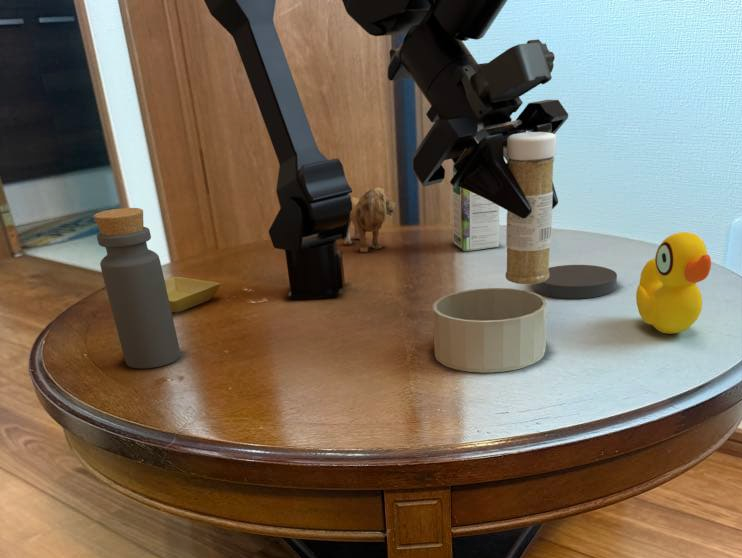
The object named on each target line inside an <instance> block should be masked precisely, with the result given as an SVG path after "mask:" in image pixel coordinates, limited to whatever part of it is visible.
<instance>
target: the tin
mask: <svg viewBox="0 0 742 558" xmlns="http://www.w3.org/2000/svg"><path fill="white" fill-rule="evenodd" d="M432 319H433V321H432V322H433V343H434V344H433V345H434V358H435V360H436V361H437V362H438V363H439V364H441V365H443V366H445V367H447V368H450V369H454V370H456V371H462V372H470V373H482V374H483V373H485V374H486V373H488V374H489V373H501V372H510V371H516V370H519V369H523V368H527V367H530V366H532V365H534V364H536V363H538V362H539V361H541V360H542V359H543V357H544V356H545V353H546V350H547V349H546V348H547V320H548V302H547V300H546V298H545V297H544V296H542V295H541V294H539V293H537V292H536V293H535V292H532V291H529V290H524V289H518V288H517V289H516V288H509V287H508V288H507V287H486V288H473V289H467V290H461V291H457V292H453V293H449V294H446V295H444V296H442V297H440V298H438V299H437V300H436V301H435V302H434V303H432Z"/></svg>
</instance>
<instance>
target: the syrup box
mask: <svg viewBox="0 0 742 558" xmlns="http://www.w3.org/2000/svg"><path fill="white" fill-rule="evenodd" d="M454 164H455V163H454V162H453V161H452V178H453V177H454V175H455V174H456V173H457V170H456V169H455V167H454ZM500 208H501V207H500V206H499V205H497V204H495V203H493V202H491V201H489V200H487V199H485V198H483V197H481V196H479V195H477V194H475V193H472V192H470V191H468V190H466V189H464V188H462V187H460V186H453V185H452V224H453V227H452V229H453V245H455V246H457V247H458V248H460V249H461V250H462V251H463V252H469V251H470V252H471V251H478V250H484V249H485V250H486V249H493V248H498V247H500V214H501V213H500Z"/></svg>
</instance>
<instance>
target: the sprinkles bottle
mask: <svg viewBox="0 0 742 558" xmlns="http://www.w3.org/2000/svg"><path fill="white" fill-rule="evenodd" d="M556 149H557V136H556V133H555V134H553V133H548V132H526V133H518V134H513V135H510V136H509V137H508V138H507V158H509V160H508V163H509V169H510V171H511V172H512V174H513V176H514V178H515V179H516V181H517V183H518V185H519V186H520V188H521V190H522V191H523V193H524V195H525V197H526V199H527V201H528V203H529V205H530V207H531V209H532V212H531V213H530V215H529V216H528V217H527V218H524V219H523V218H521V217H519V216H517V215H515V214H513V213H512V212H510V211H508V210H506V236H505V237H506V238H505V240H506V241H505V243H506V272H505V279H506V280H507V281H508V282H511V283H514V284H516V285H517V284H518V285H534V284H536V283H542V282H544V281H546V280H547V279H548V278H549V270H548V269H549V268H550V267H549V266H550V247H551V243H552V242H551V241H552V222H553V221H552V219H553V209H552V199H553V191H552V182H553V183H554V181H553V180H554V179H553V178H554V162H555V155H556Z"/></svg>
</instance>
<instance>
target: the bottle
mask: <svg viewBox="0 0 742 558" xmlns="http://www.w3.org/2000/svg"><path fill="white" fill-rule="evenodd" d="M93 219H94V221H95V223H96V225H97V228H98V229H99V233H97V234H96V240H97V243H98V245H99V246H100V247H102V248H105V250H106V255H105V256H104V257H102V259H101V260H100V263H99V266H100V270H101V274H102V279H103V282H104V286H105V289H106V293H107V297H108V301H109V305H110V309H111V312H112V316H113V320H114V325H115V327H116V333H117V336H118V340H119V344H120V347H121V350H122V354H123V358H124V361H125V364H126V366H128V367H130V368H133V369H154V368H159V367H162V366H163V367H164V366H167V365H169V364H171V363H174V362H176V361H178V359H179V358H181V350H180V344H179V340H178V336H177V335H178V334H177V329H176V327H175V321H174V317H173V312H171V307H170V303H169V298H168V294H167V289H166V285H165V280H166V279H165V276H164V272H163V267H162V263H161V259H160V256H159V254H158V253H156V252H155V251H154V250H151V249H149V248H148V244H147V242H149V241H150V240H151V239H152V235H151V231H150V229H149V227H146V226H144V210H143V209H142V208H138V207H122V208H113V209H108V210H103V211H99V212H96V213H95V214H93Z"/></svg>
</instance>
